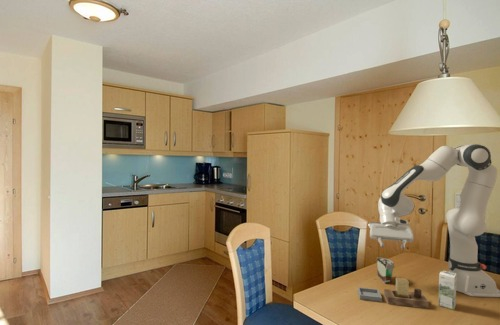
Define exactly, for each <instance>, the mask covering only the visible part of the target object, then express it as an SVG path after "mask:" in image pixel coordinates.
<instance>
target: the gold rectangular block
mask: <svg viewBox="0 0 500 325" xmlns="http://www.w3.org/2000/svg"><path fill="white" fill-rule="evenodd" d="M409 284H410V281H409V280H408V279H407V277H404V278H403V277H395V289H394V290H395V297H400V298H408V294H409V292H410V291H409V290H410V289H409V287H410V285H409Z"/></svg>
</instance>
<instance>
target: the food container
mask: <svg viewBox="0 0 500 325" xmlns="http://www.w3.org/2000/svg"><path fill="white" fill-rule="evenodd" d="M394 264H395V263H394V262H393V261H392V260H391V259H389V258H385V257H379V256H378V257H376V269H377V270H376V271H377V272H376V274H377V275H376V276H377V277H378V278H379V279H380V280H381V281H382V282H383V283H384V284H391V283H392V281H393V280H392V279H393V269H395V265H394Z"/></svg>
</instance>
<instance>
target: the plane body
mask: <svg viewBox="0 0 500 325" xmlns="http://www.w3.org/2000/svg"><path fill="white" fill-rule="evenodd" d="M383 290H384V291H383V293H384V294H383V295H384V299H385V300H386V303H387V305H397V306H404V307H411V308H412V307H413V308H420V309H427V310H428V309H429V301H428V299H427V298H426V297H425V295H424V293H423V292H422V289H421V288H414V289H413V291H409V294H408V298H400V297H395V289H387V288H385V289H383Z"/></svg>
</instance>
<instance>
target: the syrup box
mask: <svg viewBox="0 0 500 325" xmlns="http://www.w3.org/2000/svg"><path fill="white" fill-rule="evenodd" d="M456 280H457V274H456V273H451V272H449V271H446V270H441V271H440V272H439V275H438V306H439V307H442V308H445V309H448V310H452V311H454V310H455V308H456V305H457V300H456V299H457V291H456Z"/></svg>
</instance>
